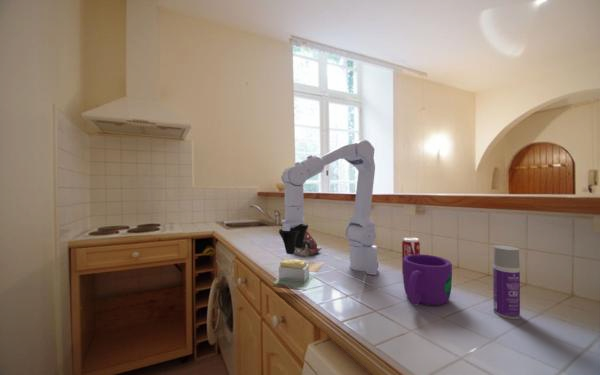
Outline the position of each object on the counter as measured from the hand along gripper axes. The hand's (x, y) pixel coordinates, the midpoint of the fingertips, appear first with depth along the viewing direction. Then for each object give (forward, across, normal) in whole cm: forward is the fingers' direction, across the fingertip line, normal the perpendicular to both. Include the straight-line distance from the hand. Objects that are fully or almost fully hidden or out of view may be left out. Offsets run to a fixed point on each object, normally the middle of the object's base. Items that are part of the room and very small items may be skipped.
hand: (294, 250), depth 78 cm
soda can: (+10, -16, +34) cm, 39 cm away
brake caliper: (+10, -30, -6) cm, 32 cm away
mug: (+10, +3, +35) cm, 36 cm away
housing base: (+9, 0, 0) cm, 9 cm away
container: (+10, +4, +52) cm, 53 cm away
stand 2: (+10, -13, 0) cm, 16 cm away
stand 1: (+10, 0, 0) cm, 10 cm away
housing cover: (+5, 0, 0) cm, 5 cm away
